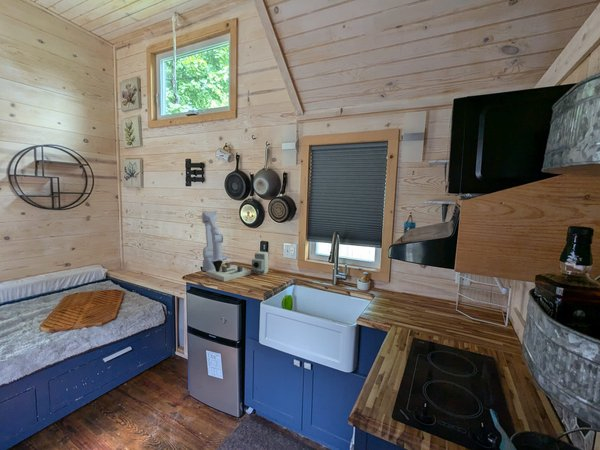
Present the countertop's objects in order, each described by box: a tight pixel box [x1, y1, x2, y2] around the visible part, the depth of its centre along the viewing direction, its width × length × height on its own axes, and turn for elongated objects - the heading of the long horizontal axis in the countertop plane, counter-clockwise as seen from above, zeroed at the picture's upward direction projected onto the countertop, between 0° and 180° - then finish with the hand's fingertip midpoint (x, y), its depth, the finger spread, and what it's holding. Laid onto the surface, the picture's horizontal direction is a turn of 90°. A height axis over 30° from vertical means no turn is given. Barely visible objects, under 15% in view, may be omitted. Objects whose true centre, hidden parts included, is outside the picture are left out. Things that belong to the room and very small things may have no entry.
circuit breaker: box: [251, 250, 270, 275], centre depth 210 cm, size 8×14×15 cm, turn 163°
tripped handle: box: [221, 264, 227, 272], centre depth 202 cm, size 3×2×4 cm, turn 52°
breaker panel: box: [205, 262, 252, 282], centre depth 205 cm, size 20×24×7 cm
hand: (217, 271), depth 197 cm, fingers closed
